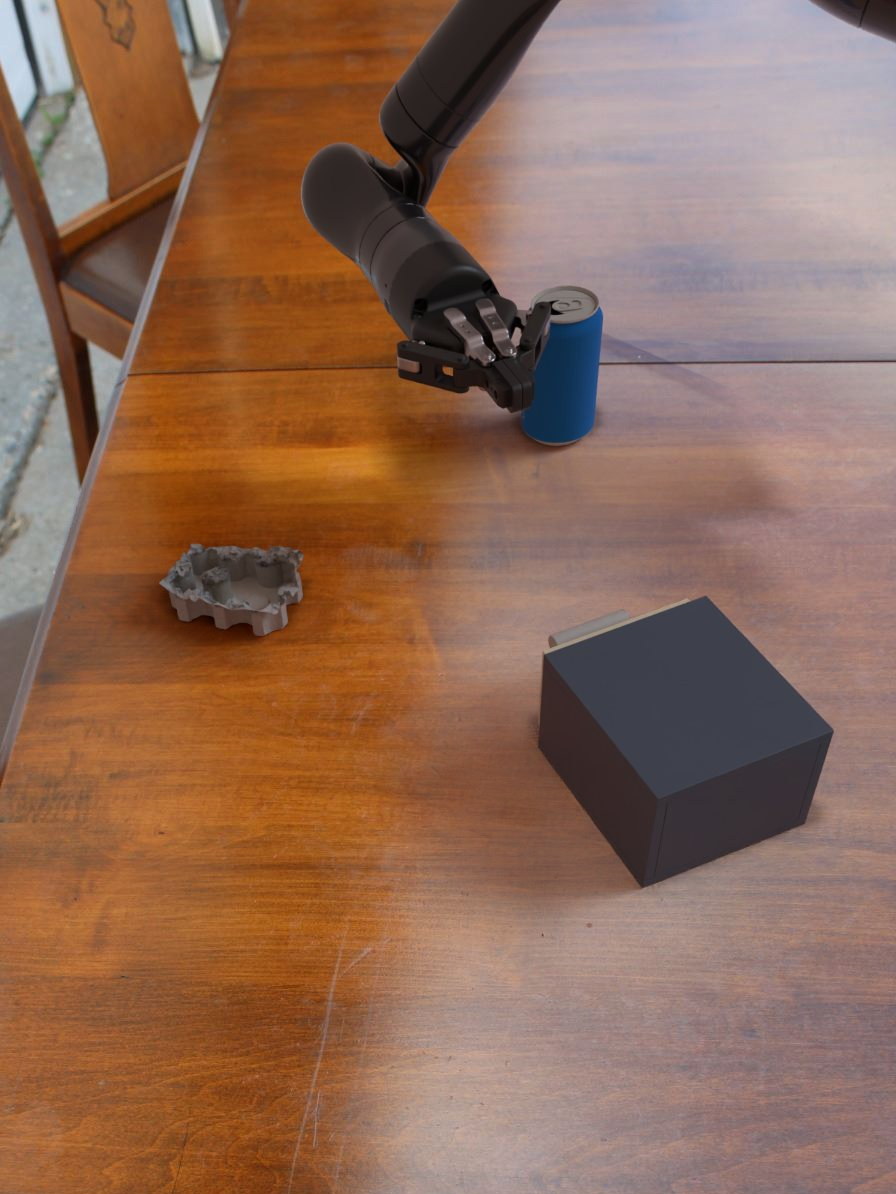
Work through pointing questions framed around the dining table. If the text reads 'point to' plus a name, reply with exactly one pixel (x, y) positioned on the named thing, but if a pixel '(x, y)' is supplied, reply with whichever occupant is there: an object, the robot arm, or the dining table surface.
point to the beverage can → (566, 368)
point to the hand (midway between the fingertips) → (522, 399)
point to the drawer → (594, 631)
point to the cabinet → (680, 739)
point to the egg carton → (236, 585)
